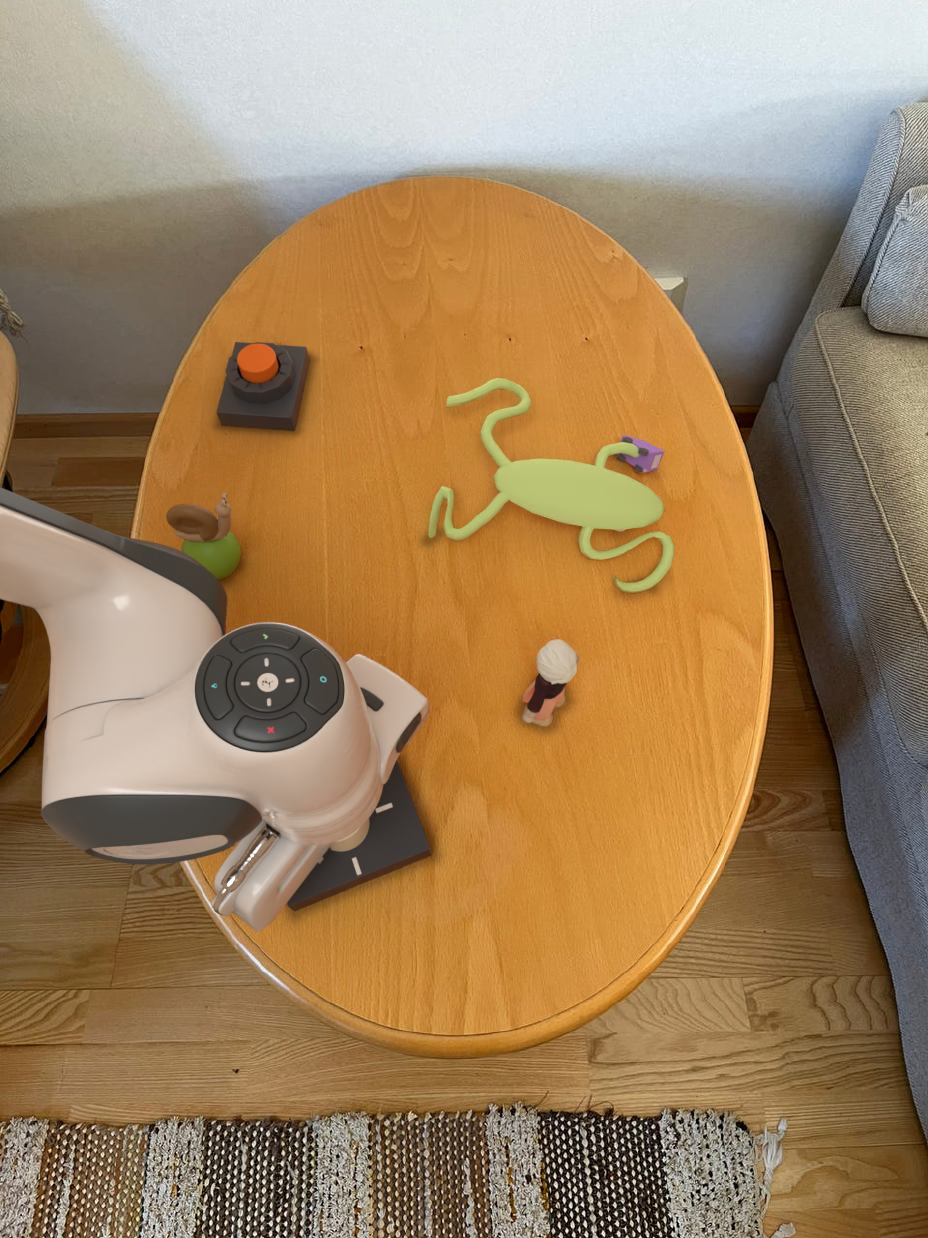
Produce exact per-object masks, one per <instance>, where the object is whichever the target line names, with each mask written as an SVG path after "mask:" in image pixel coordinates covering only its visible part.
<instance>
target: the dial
mask: <svg viewBox="0 0 928 1238" xmlns="http://www.w3.org/2000/svg"><path fill="white" fill-rule="evenodd" d="M368 830H369V818H368V820H367V821H366V822H365V823H364V824H363V825H362V826H361V827H360V828H359V829H357V830H356V831H355V832H353V833H352V834H350V835H348V836H347V837H345V838H343V839H340V840H338V841H335V842H333V843H332V844H331V846H330V848H331V850H333V851H340V852H342V851H348V850H351V849H353V848H355V847H357V846H358V845H359V844H360V843H361V842H362V841H363V840H364V839H365V837H366V835H367V833H368Z"/></svg>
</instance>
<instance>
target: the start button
mask: <svg viewBox="0 0 928 1238" xmlns="http://www.w3.org/2000/svg"><path fill="white" fill-rule="evenodd" d="M237 362H238V366H239V369H240V372H241V375H242V376H243V378H244V379H245V380H247V381H249V382H251V383H258V384H259V383H264V382H267V381H270V380H271V379H273V378H274V377H275V376H276V374H277V372H278V363H277V359H276V355H275V352H274V350H273V349H272V348H271V347H269V346H267V345H265V344H251V345H248V346H246V347H245V348H243V349H242V350H241V351H240V352H239V354H238V357H237Z"/></svg>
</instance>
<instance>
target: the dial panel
mask: <svg viewBox="0 0 928 1238" xmlns="http://www.w3.org/2000/svg"><path fill="white" fill-rule="evenodd" d="M431 856H432V849H431V846H430V843H429V840H428V838H427V835H426V832H425V830H424V826H423V825H422V822H421V819H420V816H419V814H418V811H417V808H416V806H415V803H414V801H413V798H412V796H411V793H410V790H409V787H408V785H407V782H406V780H405V777H404V774H403V771H402V768H401V766H400V764H399V761H398V759H397V760H396V762H395V764H394V767H393V769H392V772H391V774H390V776H389V779H388V781H387V782H386V783H385V784H383V789H382V794H381V797H380V800H379V802H378V804H377V806H376V808H375V810H374V812H373V813H372V814H371V816H370V817H369V830H368V833H367V835H366V837H365V839H364V840H363V841H362V842H361V843H360V844H359V845H358V846H357V847H355V848H353V849H351V850H348V851H342V852H340V851H333V850H330V851H329V853H328V854H327V855H326V857H325V858H324V859H323V861H322V862H321V863H320V864H319V863H317V864H316V865H315V867H314V868H313V869H312V871H311V872H310V873H309V875H308V876H307V877H306V878H305V880H304V881H303V882H302V884H301V885H300V886H299V888H298V889H297V890H296V892H295V893H294V894H293V896H292V897H291V898H290V899H289V901H288V902H287V903H286V905H287V907H288V908H289V909H291V910H292V911H293V912H297V911H298V910H302V909H303V908H306V907H309V906H311V905H314V904H316V903H318V902H321V901H324V900H326V899H328V898H330V897H333V896H336V895H338V894H341V893H343V892H347V891H349V890H351V889H354V888H356V887H358V886H361V885H363V884H366V883H368V882H370V881H373V880H375V879H378V878H380V877H383V876H385V875H387V874H389V873H392V872H395V871H398V870H400V869H403V868H404V867H407V866H409V865H412V864H414V863H417V862H419V861H423V860H425V859H427V858H429V857H431Z"/></svg>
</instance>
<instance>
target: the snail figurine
mask: <svg viewBox="0 0 928 1238" xmlns="http://www.w3.org/2000/svg"><path fill="white" fill-rule="evenodd" d="M220 498H221V499H220V501H219V502H217V504H215V507H214V512H215V514H216V515H217V517H216V515H215V514H214V513H213V512H212V511H210V510H209V509H207V508H205V507H203V506H200V505H197V504H191V503H178V504H175V505H173V506H171V507H169V509H168V510H167V513H166V515H165V519H166V521H167V523H168V525H169V526H170V527H171V528H173V529H174V530H173V534H174V535H175V536H176V537H178V538H180V539H183V541H182V544H181V550H180V551H182V552H184V553H185V554H187V555H189V556H191V557H192V558H194V559H195V560H197V561H198V562H199V563H201V564H202V565H203V566H204V567H205V568H207V569H208V570H209V571H210V572H211V573H212V574H213V575H214V576H215V577H216V578H217V579H218V580H219V581H220V580H224V579H226V578H227V577H229V576H231V574H233V573H234V572H235V570H236V569H237V567H238V566H239V564H240V560H241V554H242V553H241V545H240V542H239V541H238V538H237V537H236V535H234V533H233V532H232V531H231V527H232V515H231V514H232V506H231V505H230V504H229V503H228V500H227V499H228V494H227V493H225V492H223V493H221V495H220Z"/></svg>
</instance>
